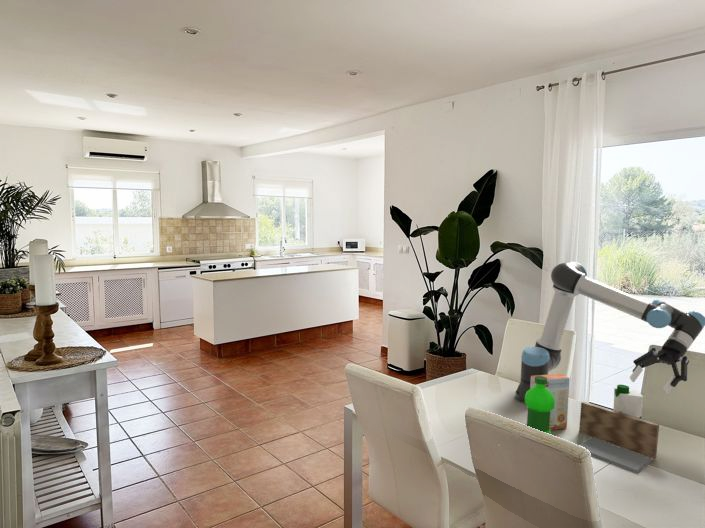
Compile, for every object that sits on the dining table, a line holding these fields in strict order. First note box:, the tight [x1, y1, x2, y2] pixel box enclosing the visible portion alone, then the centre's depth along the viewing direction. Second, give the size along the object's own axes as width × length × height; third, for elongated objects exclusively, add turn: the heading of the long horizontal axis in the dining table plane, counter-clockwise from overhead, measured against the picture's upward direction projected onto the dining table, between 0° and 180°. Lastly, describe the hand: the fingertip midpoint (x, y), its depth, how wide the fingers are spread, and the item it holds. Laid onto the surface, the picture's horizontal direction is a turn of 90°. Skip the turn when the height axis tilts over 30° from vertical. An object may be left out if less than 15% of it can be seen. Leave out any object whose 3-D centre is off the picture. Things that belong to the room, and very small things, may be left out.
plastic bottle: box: [524, 376, 555, 435], centre depth 172 cm, size 10×10×25 cm
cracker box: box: [530, 373, 570, 431], centre depth 187 cm, size 14×6×21 cm, turn 104°
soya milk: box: [612, 384, 644, 419], centre depth 179 cm, size 9×9×20 cm
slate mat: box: [579, 437, 653, 474], centre depth 166 cm, size 20×13×1 cm, turn 40°
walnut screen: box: [578, 401, 660, 460], centre depth 174 cm, size 26×2×12 cm, turn 40°
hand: (647, 385), depth 182 cm, fingers open, 13 cm apart
